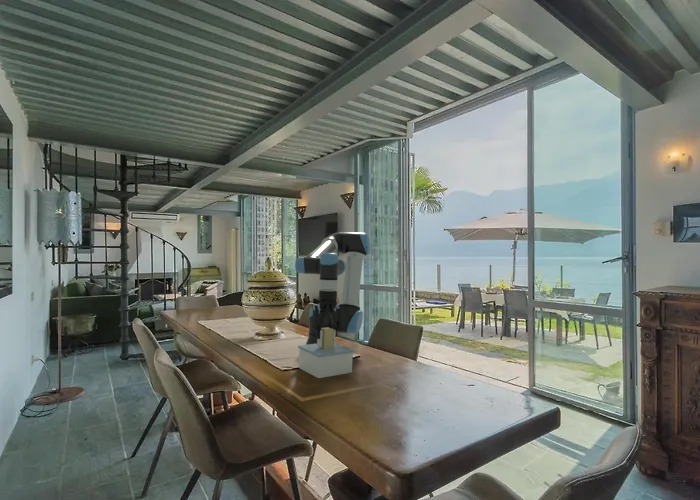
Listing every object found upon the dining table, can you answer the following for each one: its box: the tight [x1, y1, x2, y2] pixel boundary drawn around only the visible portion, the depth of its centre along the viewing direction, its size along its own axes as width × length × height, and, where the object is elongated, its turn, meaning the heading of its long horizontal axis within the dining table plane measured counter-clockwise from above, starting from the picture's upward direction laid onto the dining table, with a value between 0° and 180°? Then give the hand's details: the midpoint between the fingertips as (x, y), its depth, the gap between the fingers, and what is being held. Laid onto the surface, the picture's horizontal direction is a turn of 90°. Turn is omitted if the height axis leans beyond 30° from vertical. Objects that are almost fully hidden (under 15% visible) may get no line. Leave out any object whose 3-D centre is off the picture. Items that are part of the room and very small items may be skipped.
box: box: [298, 349, 354, 379], centre depth 159 cm, size 16×16×9 cm
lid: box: [297, 327, 355, 357], centre depth 159 cm, size 17×17×9 cm
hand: (326, 345), depth 159 cm, fingers open, 6 cm apart
